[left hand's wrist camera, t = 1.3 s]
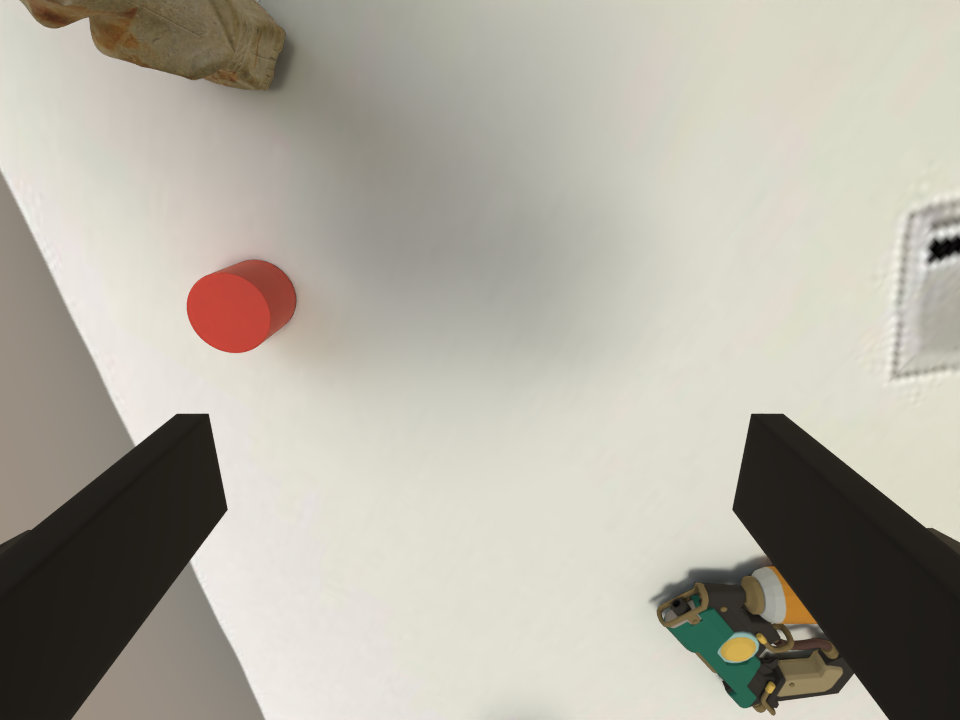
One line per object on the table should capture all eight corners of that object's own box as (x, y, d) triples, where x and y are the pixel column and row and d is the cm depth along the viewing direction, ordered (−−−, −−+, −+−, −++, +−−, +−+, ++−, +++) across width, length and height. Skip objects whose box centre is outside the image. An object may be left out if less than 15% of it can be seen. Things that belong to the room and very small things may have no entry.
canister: (273, 344, 36) (245, 368, 32) (209, 303, 35) (172, 321, 31) (310, 289, 35) (286, 306, 31) (244, 244, 34) (209, 255, 30)
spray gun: (853, 658, 47) (691, 698, 50) (828, 527, 41) (644, 580, 43) (886, 706, 43) (708, 746, 46) (864, 569, 37) (660, 625, 40)
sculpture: (188, -50, 28) (-102, -268, 14) (311, 23, 29) (156, -110, 15) (157, 57, 30) (-128, -42, 16) (274, 122, 31) (105, 83, 17)
